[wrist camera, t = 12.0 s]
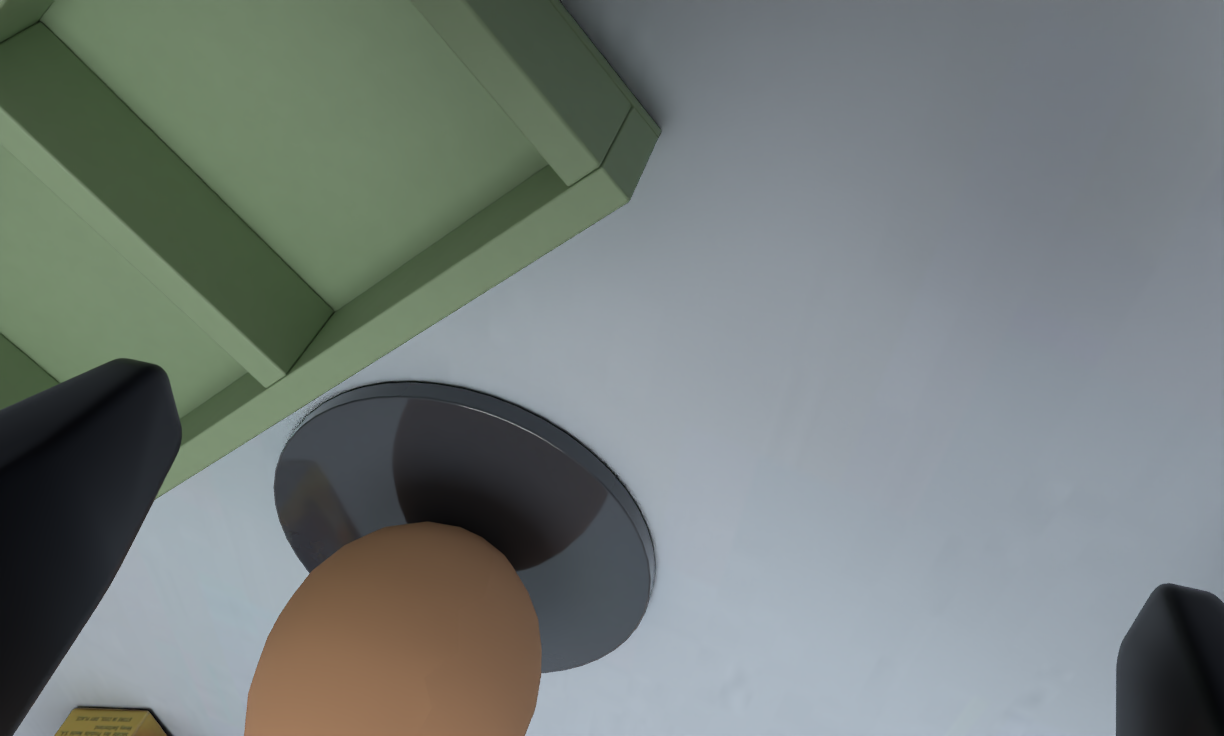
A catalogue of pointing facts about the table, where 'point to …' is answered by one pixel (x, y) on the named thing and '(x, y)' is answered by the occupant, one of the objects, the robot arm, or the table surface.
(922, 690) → the table surface
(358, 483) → the coaster
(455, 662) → the egg
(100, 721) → the candy box
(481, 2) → the tray
